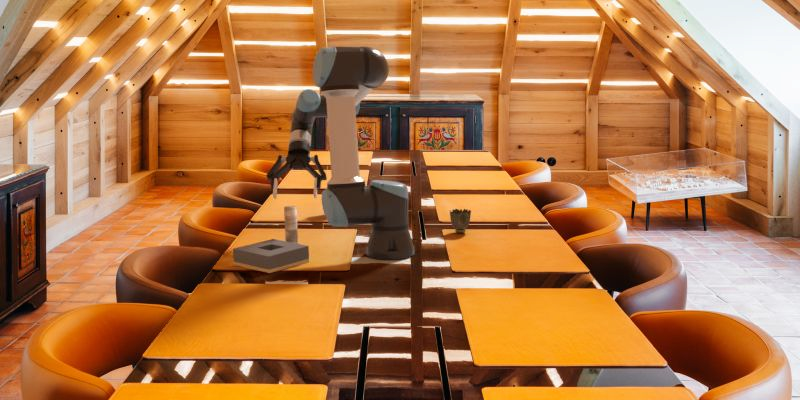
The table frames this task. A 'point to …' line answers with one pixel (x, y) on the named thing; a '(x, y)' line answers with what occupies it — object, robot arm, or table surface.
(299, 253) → the socket block
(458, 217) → the cup
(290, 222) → the birch peg
